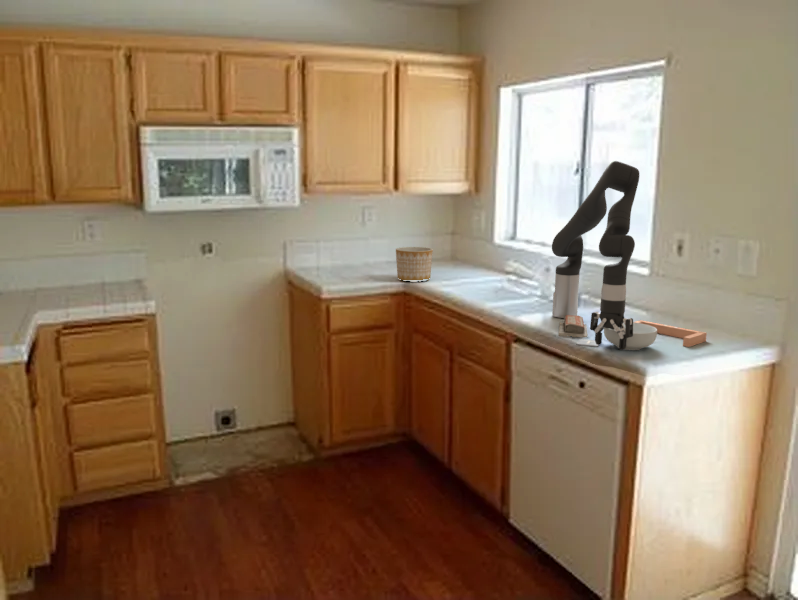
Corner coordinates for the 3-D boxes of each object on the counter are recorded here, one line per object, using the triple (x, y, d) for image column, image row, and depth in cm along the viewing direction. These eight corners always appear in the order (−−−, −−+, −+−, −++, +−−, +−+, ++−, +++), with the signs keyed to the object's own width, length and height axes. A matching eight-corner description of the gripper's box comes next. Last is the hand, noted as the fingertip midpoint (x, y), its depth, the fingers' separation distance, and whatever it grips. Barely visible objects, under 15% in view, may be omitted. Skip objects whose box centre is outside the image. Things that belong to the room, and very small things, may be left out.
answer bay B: (688, 347, 226) (689, 338, 225) (622, 332, 245) (622, 324, 244) (705, 341, 233) (706, 332, 233) (640, 328, 252) (640, 319, 252)
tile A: (576, 344, 228) (576, 343, 228) (580, 339, 235) (580, 338, 235) (597, 347, 226) (597, 345, 225) (600, 342, 232) (601, 340, 232)
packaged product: (559, 313, 256) (587, 315, 254) (559, 325, 257) (586, 327, 255) (559, 323, 239) (588, 325, 237) (558, 337, 240) (587, 339, 238)
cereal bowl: (635, 357, 214) (636, 335, 213) (592, 345, 227) (593, 325, 226) (666, 348, 224) (668, 328, 222) (623, 338, 237) (624, 318, 236)
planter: (392, 277, 364) (392, 247, 360) (427, 276, 367) (428, 246, 364) (399, 283, 345) (399, 251, 342) (436, 282, 348) (436, 250, 345)
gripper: (640, 299, 212) (636, 349, 215) (600, 292, 223) (597, 340, 226) (626, 302, 207) (622, 353, 211) (587, 295, 218) (584, 344, 221)
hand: (609, 346), depth 218 cm, fingers open, 8 cm apart
